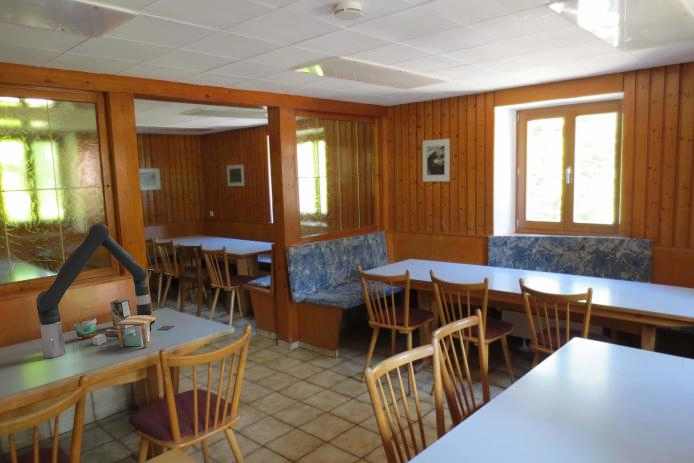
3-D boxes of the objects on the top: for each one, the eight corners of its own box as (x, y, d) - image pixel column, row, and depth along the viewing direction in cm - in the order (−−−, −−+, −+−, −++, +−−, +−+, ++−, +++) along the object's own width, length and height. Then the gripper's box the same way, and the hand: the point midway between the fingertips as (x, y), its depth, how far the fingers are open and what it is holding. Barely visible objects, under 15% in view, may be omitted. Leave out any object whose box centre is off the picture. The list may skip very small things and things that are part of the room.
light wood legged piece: (147, 347, 256) (144, 323, 255) (119, 347, 259) (116, 323, 258) (162, 338, 270) (159, 315, 269) (136, 338, 273) (133, 315, 272)
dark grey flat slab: (168, 330, 284) (168, 329, 284) (157, 330, 286) (157, 329, 286) (174, 326, 291) (174, 325, 291) (163, 326, 292) (163, 325, 292)
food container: (80, 342, 273) (78, 324, 272) (75, 340, 277) (73, 323, 276) (102, 335, 283) (100, 318, 281) (97, 333, 286) (95, 317, 285)
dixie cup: (148, 343, 263) (145, 325, 261) (132, 344, 263) (130, 326, 262) (154, 338, 271) (152, 320, 270) (139, 339, 271) (137, 321, 270)
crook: (141, 345, 260) (140, 336, 259) (121, 345, 262) (120, 336, 262) (165, 331, 281) (164, 323, 281) (146, 331, 284) (145, 323, 283)
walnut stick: (125, 335, 281) (124, 330, 281) (121, 336, 279) (121, 331, 278) (108, 334, 285) (107, 329, 285) (105, 335, 283) (104, 330, 282)
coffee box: (133, 325, 298) (129, 299, 296) (125, 328, 292) (122, 302, 290) (120, 325, 301) (117, 299, 299) (112, 328, 295) (109, 302, 293)
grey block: (98, 345, 266) (97, 338, 266) (93, 344, 268) (92, 337, 268) (106, 342, 271) (105, 334, 270) (101, 341, 273) (100, 334, 272)
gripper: (128, 304, 277) (131, 334, 279) (150, 304, 274) (154, 334, 277) (136, 300, 284) (139, 329, 287) (158, 300, 282) (161, 329, 284)
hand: (146, 331), depth 282 cm, fingers closed on crook, 3 cm apart
